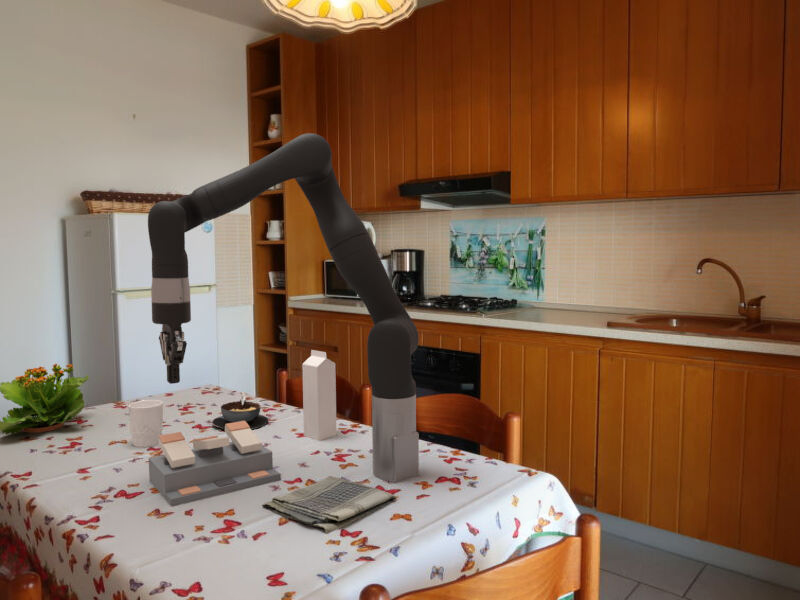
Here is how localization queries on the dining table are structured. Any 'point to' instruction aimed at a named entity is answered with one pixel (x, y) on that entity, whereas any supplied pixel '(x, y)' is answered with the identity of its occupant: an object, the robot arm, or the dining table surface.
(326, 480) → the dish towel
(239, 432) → the block
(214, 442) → the rocker
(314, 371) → the milk
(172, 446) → the rocker
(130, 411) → the white cup
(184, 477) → the switch unit
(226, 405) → the soup bowl
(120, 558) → the dining table surface
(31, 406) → the potted flower
